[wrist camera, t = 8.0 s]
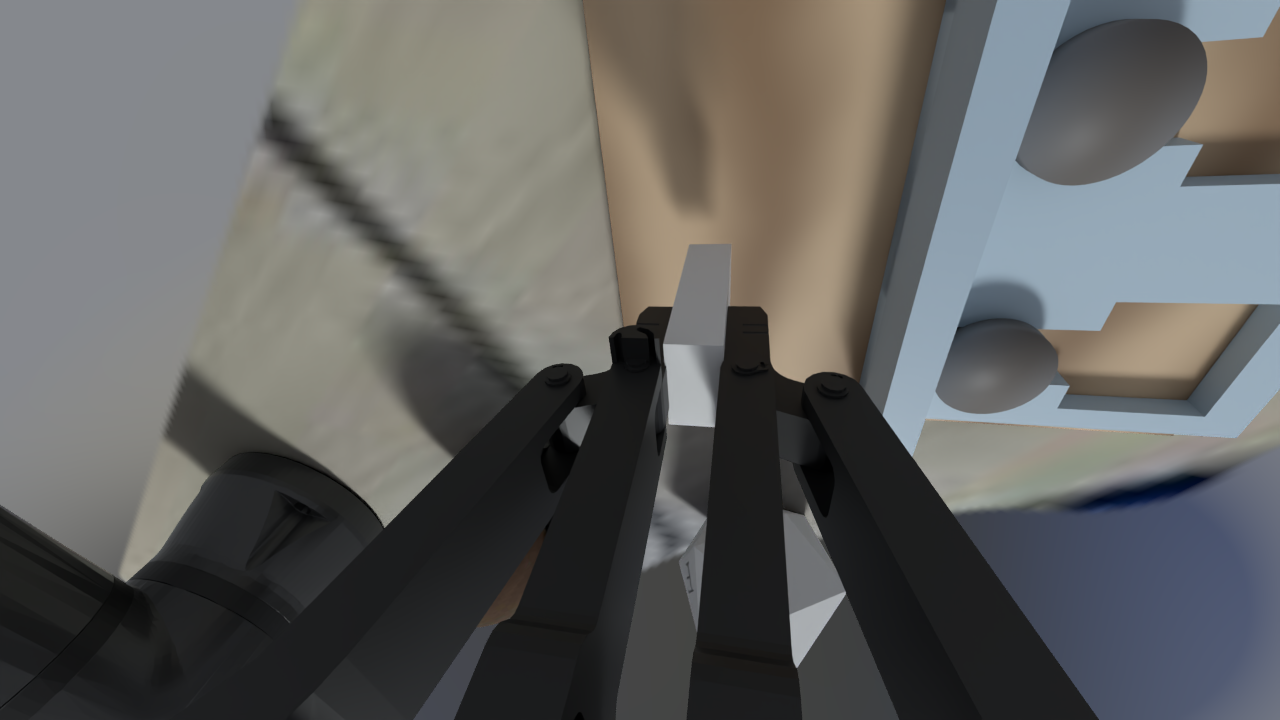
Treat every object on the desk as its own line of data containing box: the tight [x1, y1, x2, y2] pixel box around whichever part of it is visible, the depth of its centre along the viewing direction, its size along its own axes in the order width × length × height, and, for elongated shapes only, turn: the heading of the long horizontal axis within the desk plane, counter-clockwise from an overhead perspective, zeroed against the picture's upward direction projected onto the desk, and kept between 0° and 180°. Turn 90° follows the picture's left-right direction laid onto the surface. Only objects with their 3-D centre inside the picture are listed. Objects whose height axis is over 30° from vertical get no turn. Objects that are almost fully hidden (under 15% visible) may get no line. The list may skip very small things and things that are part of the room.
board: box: [583, 0, 1280, 436], centre depth 17 cm, size 24×18×4 cm
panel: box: [859, 0, 1280, 456], centre depth 15 cm, size 14×16×4 cm
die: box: [679, 510, 846, 668], centre depth 28 cm, size 8×9×10 cm
